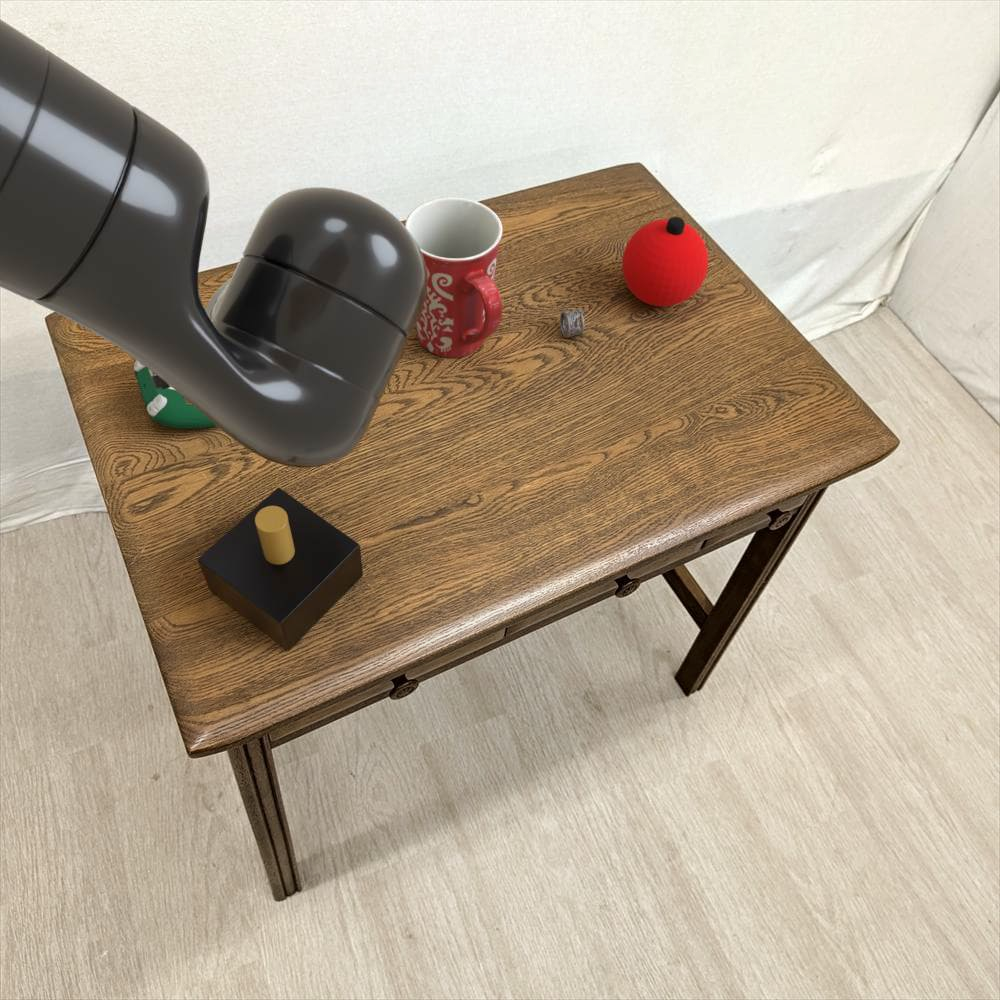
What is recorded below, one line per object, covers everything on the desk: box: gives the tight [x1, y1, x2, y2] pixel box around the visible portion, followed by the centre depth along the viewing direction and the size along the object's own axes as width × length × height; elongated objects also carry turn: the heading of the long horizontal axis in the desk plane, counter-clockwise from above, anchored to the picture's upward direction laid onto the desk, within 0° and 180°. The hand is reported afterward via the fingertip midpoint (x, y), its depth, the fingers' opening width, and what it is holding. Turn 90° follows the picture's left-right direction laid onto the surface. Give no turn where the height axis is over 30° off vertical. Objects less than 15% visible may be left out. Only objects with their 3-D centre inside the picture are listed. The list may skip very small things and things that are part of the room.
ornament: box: [621, 216, 709, 308], centre depth 95 cm, size 9×9×10 cm
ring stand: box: [196, 486, 364, 652], centre depth 71 cm, size 9×9×10 cm
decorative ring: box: [559, 308, 585, 339], centre depth 93 cm, size 3×2×3 cm
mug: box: [404, 196, 504, 359], centre depth 87 cm, size 13×9×14 cm
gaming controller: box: [133, 359, 218, 430], centre depth 84 cm, size 9×4×6 cm
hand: (246, 344), depth 66 cm, fingers closed on ring, 6 cm apart
